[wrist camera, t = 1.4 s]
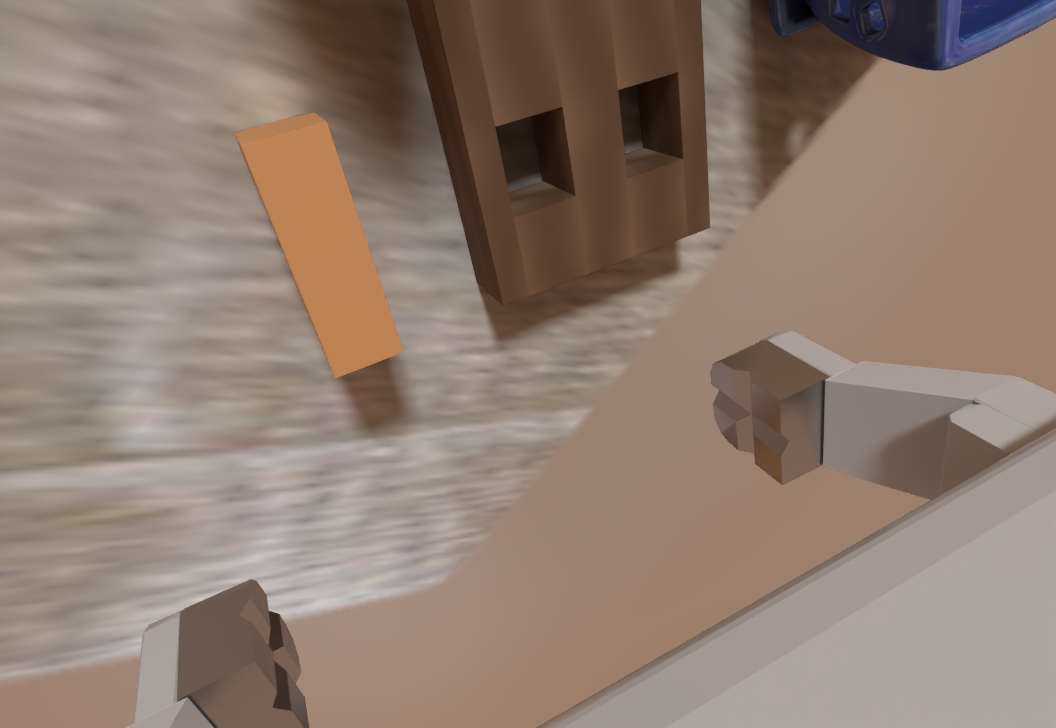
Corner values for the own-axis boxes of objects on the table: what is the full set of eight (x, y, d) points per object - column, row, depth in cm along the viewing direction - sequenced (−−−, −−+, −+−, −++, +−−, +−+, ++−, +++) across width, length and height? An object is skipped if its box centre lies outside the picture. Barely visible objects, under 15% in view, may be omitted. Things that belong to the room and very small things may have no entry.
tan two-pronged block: (364, 293, 32) (403, 352, 27) (307, 313, 32) (335, 378, 26) (296, 99, 28) (326, 121, 22) (227, 117, 27) (240, 145, 21)
